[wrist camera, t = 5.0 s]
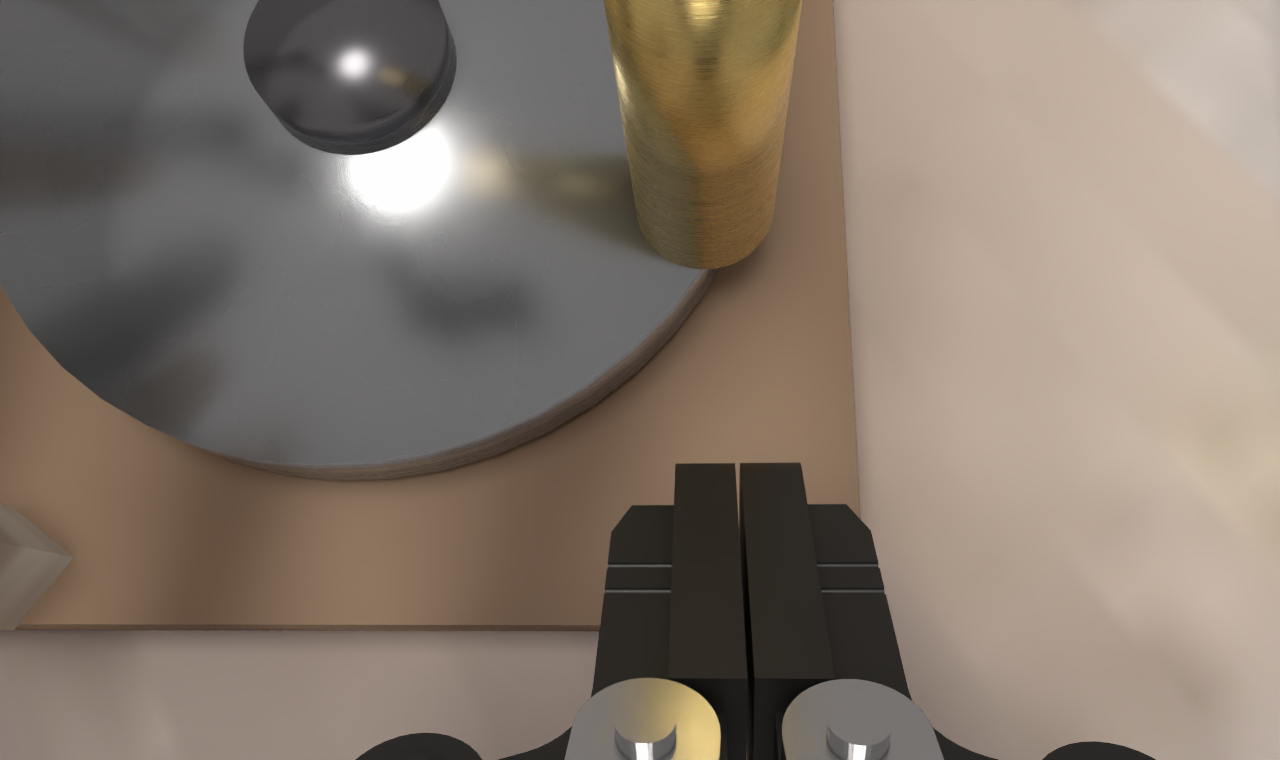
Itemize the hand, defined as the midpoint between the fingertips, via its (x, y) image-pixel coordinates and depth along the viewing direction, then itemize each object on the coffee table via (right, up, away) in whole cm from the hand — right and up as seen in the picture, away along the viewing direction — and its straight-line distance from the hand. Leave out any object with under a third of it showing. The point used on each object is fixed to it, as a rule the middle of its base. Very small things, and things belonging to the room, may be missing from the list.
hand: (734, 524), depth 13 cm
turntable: (-8, +6, +11) cm, 15 cm away
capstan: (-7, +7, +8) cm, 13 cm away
